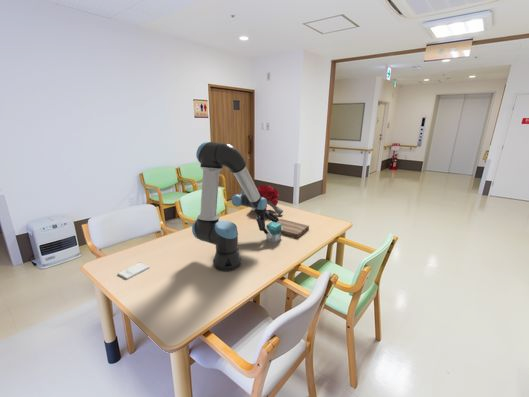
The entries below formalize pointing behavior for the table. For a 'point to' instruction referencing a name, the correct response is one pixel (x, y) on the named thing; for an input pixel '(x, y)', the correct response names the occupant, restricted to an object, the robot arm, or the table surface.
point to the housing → (274, 232)
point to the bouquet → (272, 201)
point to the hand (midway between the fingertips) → (276, 233)
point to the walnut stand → (293, 228)
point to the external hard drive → (133, 270)
